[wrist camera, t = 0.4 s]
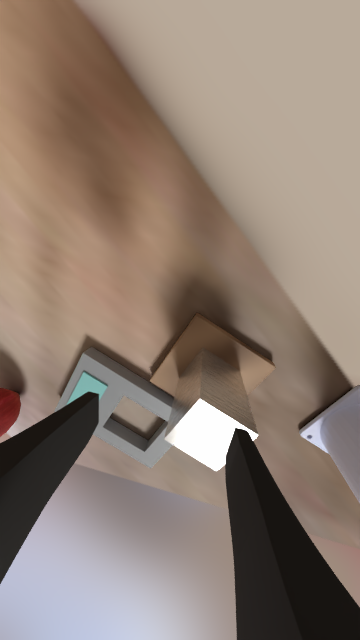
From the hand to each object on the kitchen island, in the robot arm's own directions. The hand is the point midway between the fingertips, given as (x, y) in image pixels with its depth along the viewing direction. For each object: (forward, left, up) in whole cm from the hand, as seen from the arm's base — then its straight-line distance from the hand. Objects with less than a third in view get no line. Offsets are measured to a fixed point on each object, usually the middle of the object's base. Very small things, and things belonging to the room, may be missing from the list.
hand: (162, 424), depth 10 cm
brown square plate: (-4, +1, -10) cm, 11 cm away
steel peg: (-4, +1, -9) cm, 10 cm away
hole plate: (+1, +12, -10) cm, 16 cm away
